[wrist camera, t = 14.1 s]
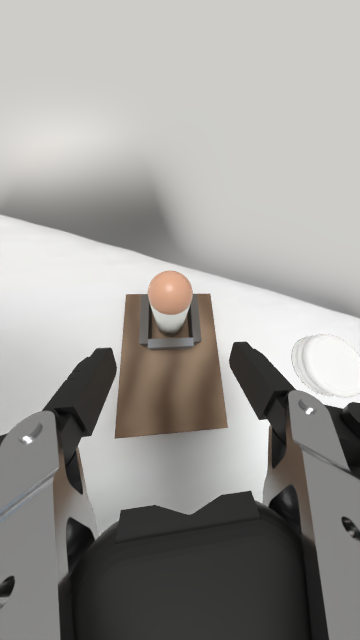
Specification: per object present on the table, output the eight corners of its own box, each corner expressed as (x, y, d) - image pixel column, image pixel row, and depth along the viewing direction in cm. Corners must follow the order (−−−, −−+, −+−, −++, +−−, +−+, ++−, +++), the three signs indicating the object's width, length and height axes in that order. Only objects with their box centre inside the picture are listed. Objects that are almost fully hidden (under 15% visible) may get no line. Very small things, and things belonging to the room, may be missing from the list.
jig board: (117, 434, 20) (100, 458, 15) (127, 297, 26) (118, 282, 21) (224, 424, 21) (241, 443, 16) (208, 296, 28) (217, 282, 23)
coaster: (342, 349, 26) (367, 347, 23) (342, 403, 23) (370, 409, 20) (293, 329, 27) (310, 324, 24) (286, 379, 24) (305, 382, 21)
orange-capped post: (157, 337, 23) (142, 305, 10) (157, 313, 24) (145, 259, 12) (182, 336, 23) (198, 304, 11) (181, 313, 25) (194, 260, 12)
